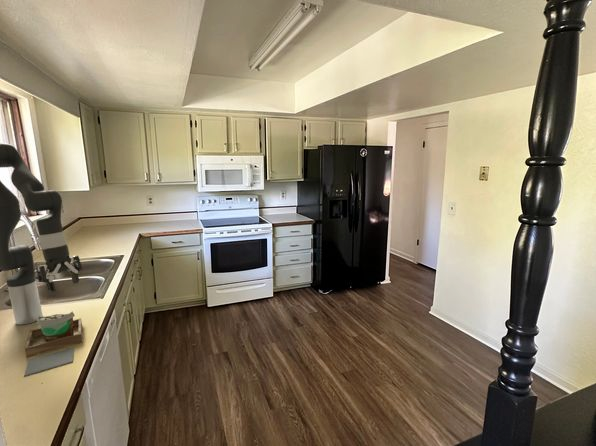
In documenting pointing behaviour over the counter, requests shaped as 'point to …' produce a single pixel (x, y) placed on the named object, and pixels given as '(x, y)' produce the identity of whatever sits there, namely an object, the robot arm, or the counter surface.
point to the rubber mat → (49, 361)
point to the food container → (56, 326)
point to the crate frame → (52, 344)
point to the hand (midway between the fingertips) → (64, 287)
